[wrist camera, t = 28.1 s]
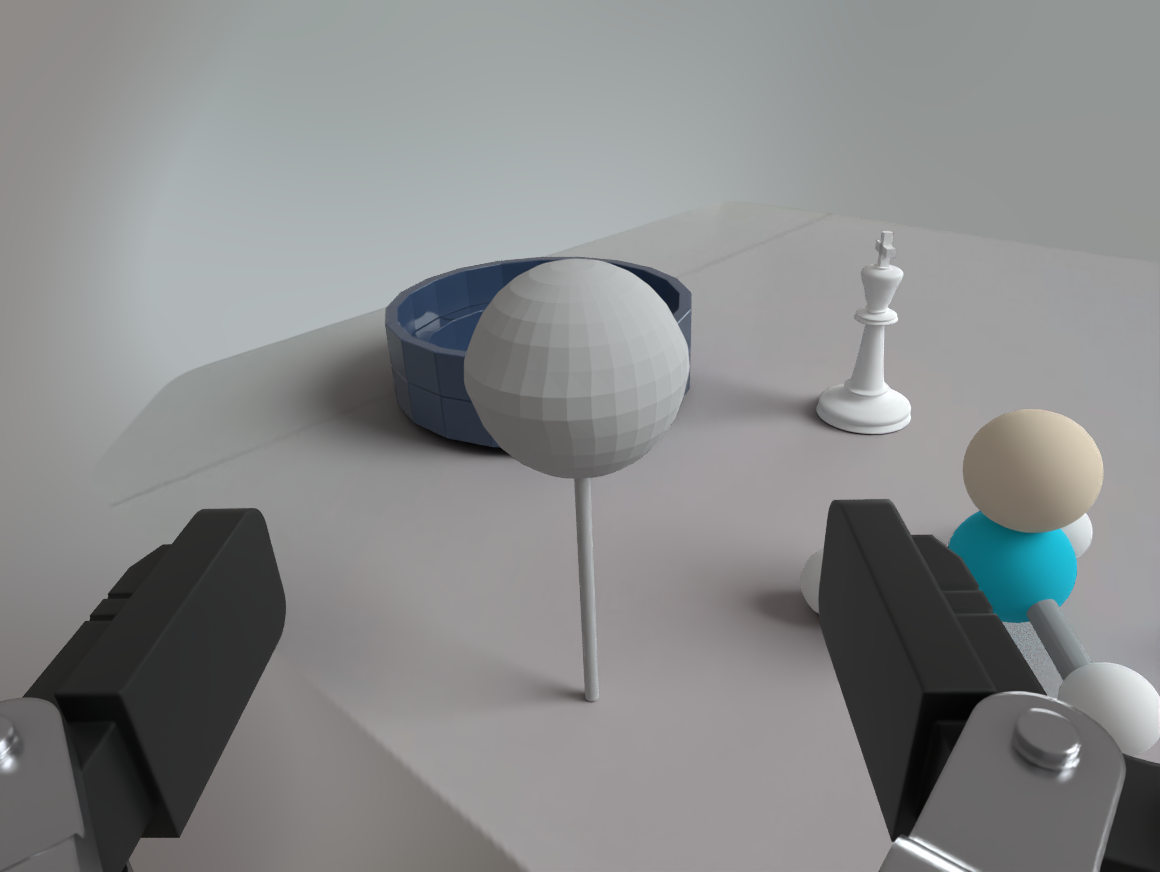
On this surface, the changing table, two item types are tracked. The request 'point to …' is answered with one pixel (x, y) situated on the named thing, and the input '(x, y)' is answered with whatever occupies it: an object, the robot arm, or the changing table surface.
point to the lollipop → (577, 385)
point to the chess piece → (870, 359)
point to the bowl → (445, 327)
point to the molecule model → (1040, 556)
